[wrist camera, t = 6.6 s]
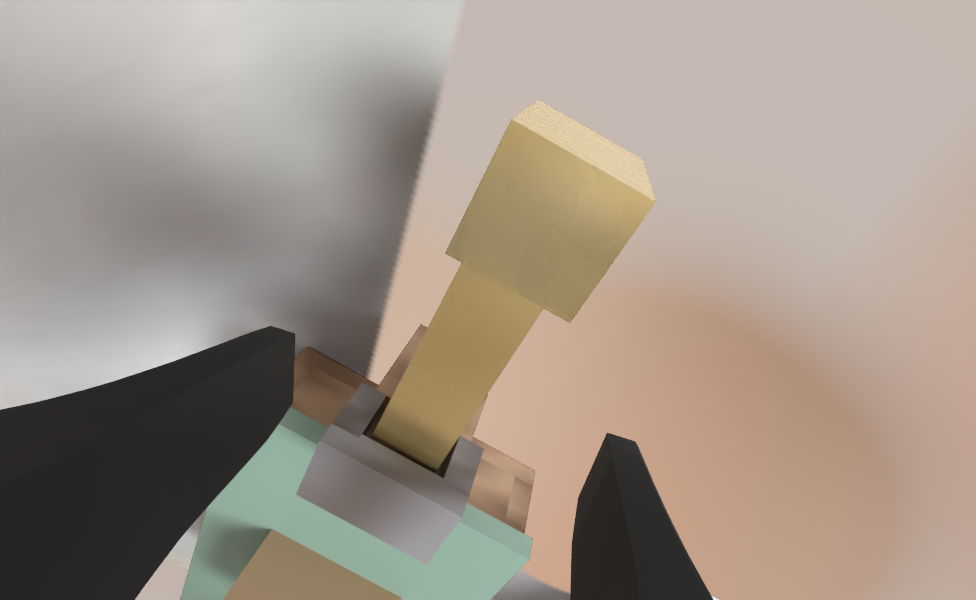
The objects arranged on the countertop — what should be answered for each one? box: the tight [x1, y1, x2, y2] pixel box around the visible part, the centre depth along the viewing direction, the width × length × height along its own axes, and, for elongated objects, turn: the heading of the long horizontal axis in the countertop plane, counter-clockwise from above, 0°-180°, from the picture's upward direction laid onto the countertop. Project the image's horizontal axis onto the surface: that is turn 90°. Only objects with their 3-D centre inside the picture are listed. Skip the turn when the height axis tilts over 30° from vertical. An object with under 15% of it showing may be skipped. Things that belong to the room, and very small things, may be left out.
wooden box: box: [291, 325, 535, 564], centre depth 24 cm, size 13×22×8 cm, turn 153°
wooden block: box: [370, 101, 656, 473], centre depth 14 cm, size 3×13×4 cm, turn 153°
